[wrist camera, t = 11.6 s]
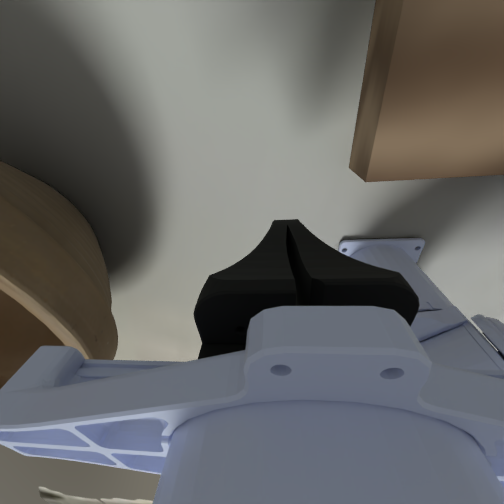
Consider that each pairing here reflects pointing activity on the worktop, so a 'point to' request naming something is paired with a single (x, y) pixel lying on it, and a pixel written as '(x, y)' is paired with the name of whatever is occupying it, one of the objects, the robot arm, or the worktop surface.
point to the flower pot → (49, 276)
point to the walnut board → (432, 91)
